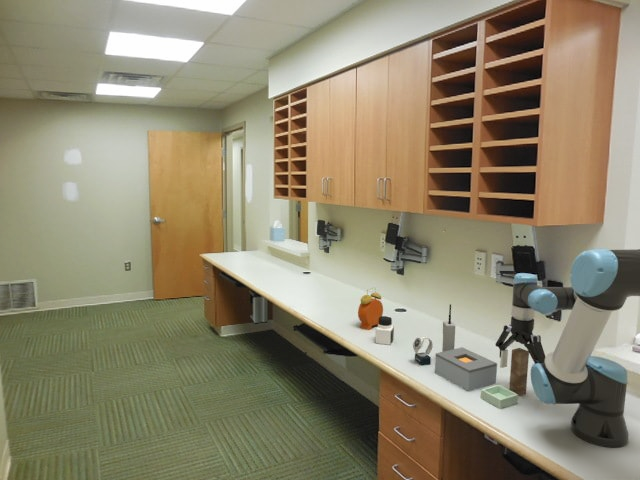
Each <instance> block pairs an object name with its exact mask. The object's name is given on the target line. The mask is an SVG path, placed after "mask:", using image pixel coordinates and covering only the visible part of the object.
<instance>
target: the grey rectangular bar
mask: <svg viewBox="0 0 640 480" xmlns="http://www.w3.org/2000/svg"><path fill="white" fill-rule="evenodd" d="M448 309H449V313H448V320H445V321H444V320H443V321H442V351H441V352H444V351H448V350H453V349H455V343H456V342H455V341H456V324H454V322H453V321H451V320H452V315H451V314H452V312H451V311H452V304H451V303H450V304H449V308H448Z"/></svg>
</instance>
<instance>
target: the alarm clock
mask: <svg viewBox="0 0 640 480" xmlns="http://www.w3.org/2000/svg"><path fill="white" fill-rule="evenodd" d="M371 289H376V287H372V288H370V290H371ZM368 291H369V288H368V289H367V290H366V293H368ZM381 300H382V295H380V294H379V292H372V293H371V294H369V295H368V294H364V295H363V296H361V298H360V304H359V306H358V309H357V317H358V320H359V321H360V322H361V324H360V329H364V330H365V331H370V330H372V327H373V326H374V327H375V326H376V327H378V324H379V317H381V316H383V314H384V306H383V303H382V301H381Z"/></svg>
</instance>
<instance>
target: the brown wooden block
mask: <svg viewBox="0 0 640 480" xmlns="http://www.w3.org/2000/svg"><path fill="white" fill-rule="evenodd" d="M529 355H530V353H529V351H528V350H527V349H524V348H521V347H517V348H514V349H511V358H510V374H509V375H510V376H509V389H508V390H510V391H512V392H514V393H516V394H518V397H521V396H523V395H524V396H525V395H526V394H527V384H528V372H529V371H528V370H529V358H530V357H529Z"/></svg>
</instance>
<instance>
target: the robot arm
mask: <svg viewBox="0 0 640 480" xmlns="http://www.w3.org/2000/svg"><path fill="white" fill-rule="evenodd" d="M570 275H571V276H570V277H569V279H570V280H569V281H570V284H571V286H540V285H538V283H539V282H538V277H537V275H535V274H532V273H525V272H520V273H516V274H515V275H514V279H513V284H512V286H513V287H512V302H511V303H512V304H511V313H510V315H511V317H510V324H505V325H503V331H502V332H501V334H500V335H499V338H498V339H497V340H496V342H495V343H494V344H495V347H498V349H499V358H500V361H499V362H500V364H499V367H500V368H501V369H504V368H506V367H508V356H509V350H508V348H509V347H510V345H512V344H513V343H514V342H515V343H519V344H521V345H523V346H524V347H525V348H526V350H527V351H529V355H530V358H531V359H532V361H533V362H534V363H533V364H532V366H531V368H530V381H531V385H532V390H533V392H534V394H535V396H536V398H537V399H538V401H540V402H541V403H543V404H546V405H554V406H555V405H573V404H574V405H575V404H576V405H578V406H577V408H576V411H575V412H574V414H573V416H572V417H571V421H570V429H571V431H572V432H573V434H575V435H576V437H578V438H580V439H581V440H583V441H585V442H588V443H591V444H594V445H596V446H601V447H606V448H620V447H624V446H626V445H627V444H628V442H629V431H628V428H627V423H626V419H625V415H624V413H625V412H624V411H625V403H626V395H627V388H628V386H627V385H628V383H629V382H628V371H627V369H626V368H625V367H624V366H623V365H621V364H620V363H618V362H616V361H615V360H611V359H609V358H605V357H601V356H596V355H592V354H593V352H594V350H595V348H596V345H597V344H598V342H599V340H600V337H601V335H602V333H603V331H604V330H605V328H606V325H607V323H608V320H610V317H611V315H612V313H613V312H615V311H619V310H621V309H622V308H623V307H624V305H625V303H626V300H627V299H628V298H630V297H640V249H638V248H637V249H609V248H608V249H607V248H597V249H589V250H588V249H587V250H585V251H582V252H580V254H578V255H577V256H576V258H575V259H574V261H573V262H572V265H571V267H570ZM554 311H571V312H570V313H569V316H568V318H567V320H566V323H565V326H564V328H563V330H562V332H561V335H560V336H559V339H558V342H557V344H556V347H555V348H554V351H551V352H549V353H548V354H547V355H546V353H545V350H544V348H543V344H542V339H541V338H542V337H541V335H539V334H537V335H534V333H533V331H534V328H535V317H536V315H535V314H536V312H537V313H540V314H543V315H544V314H545V315H546V314H550V313H552V312H554ZM510 333H511V335H510V336H509V334H510ZM508 336H509V337H508ZM507 337H508V339H507Z"/></svg>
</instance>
